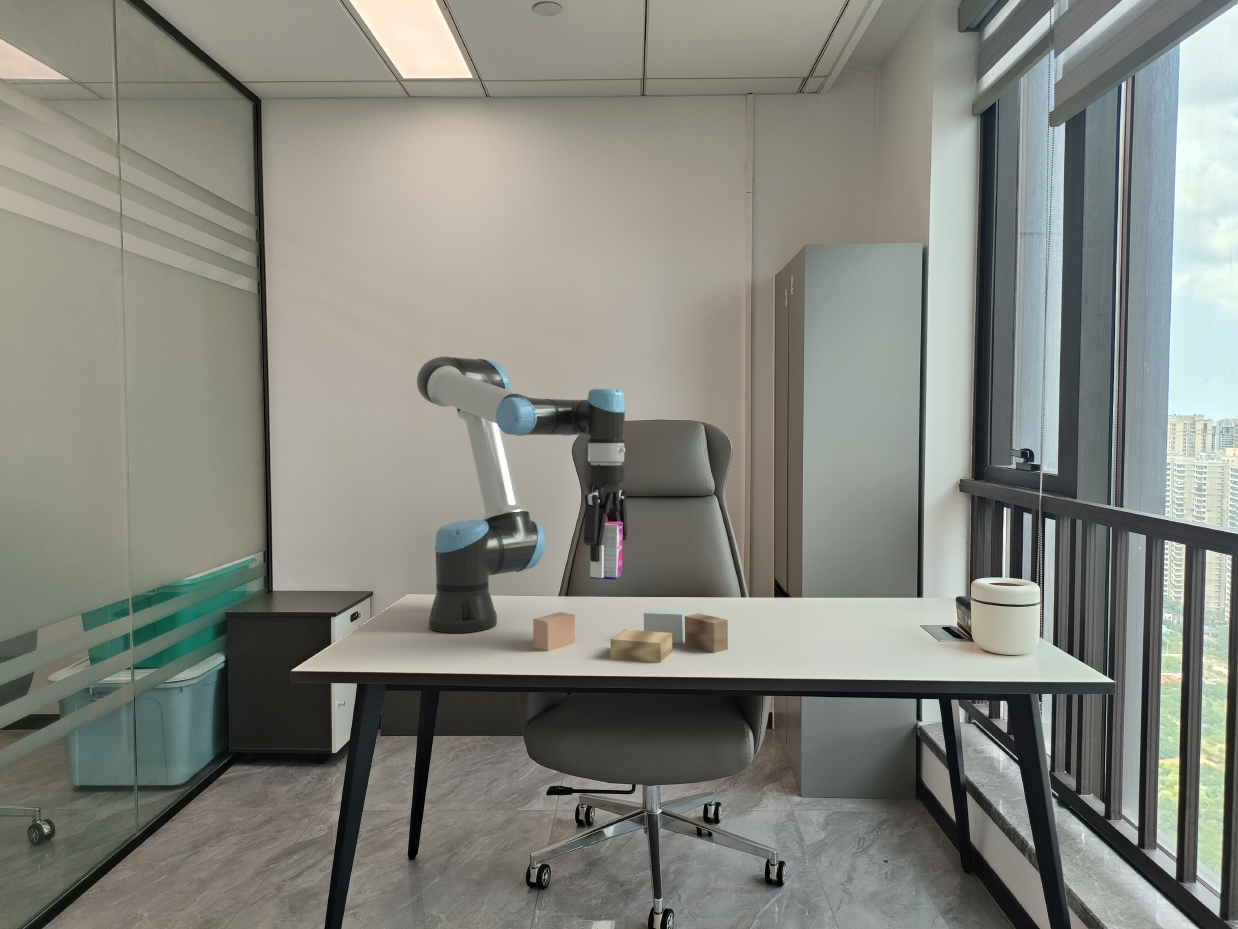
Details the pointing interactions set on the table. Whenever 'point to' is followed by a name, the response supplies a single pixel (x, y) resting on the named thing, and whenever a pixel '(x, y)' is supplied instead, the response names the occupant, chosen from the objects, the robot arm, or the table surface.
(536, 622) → the terracotta brick
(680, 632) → the grey painted brick
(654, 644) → the oak block
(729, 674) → the table surface
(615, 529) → the supplement box
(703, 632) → the walnut brick
